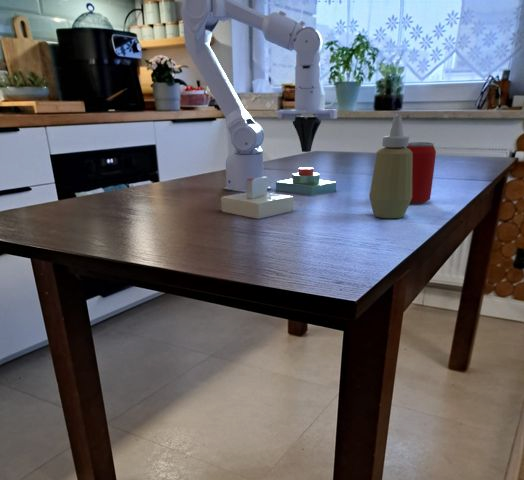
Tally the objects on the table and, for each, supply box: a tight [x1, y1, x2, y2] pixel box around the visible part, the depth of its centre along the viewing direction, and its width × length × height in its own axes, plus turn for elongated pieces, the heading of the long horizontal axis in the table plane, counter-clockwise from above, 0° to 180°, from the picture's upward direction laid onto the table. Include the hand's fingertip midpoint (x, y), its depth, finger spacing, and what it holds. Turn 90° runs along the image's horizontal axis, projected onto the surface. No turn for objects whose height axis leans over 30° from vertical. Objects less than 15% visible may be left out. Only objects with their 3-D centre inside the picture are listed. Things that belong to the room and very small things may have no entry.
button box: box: [275, 172, 337, 197], centre depth 128 cm, size 12×9×4 cm
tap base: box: [220, 191, 294, 220], centre depth 106 cm, size 11×10×3 cm
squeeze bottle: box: [368, 114, 413, 219], centre depth 97 cm, size 8×8×18 cm
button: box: [298, 166, 314, 175], centre depth 127 cm, size 4×4×2 cm
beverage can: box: [405, 141, 437, 205], centre depth 111 cm, size 7×7×12 cm
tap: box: [245, 176, 268, 199], centre depth 105 cm, size 6×2×4 cm, turn 149°
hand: (306, 151), depth 125 cm, fingers closed
